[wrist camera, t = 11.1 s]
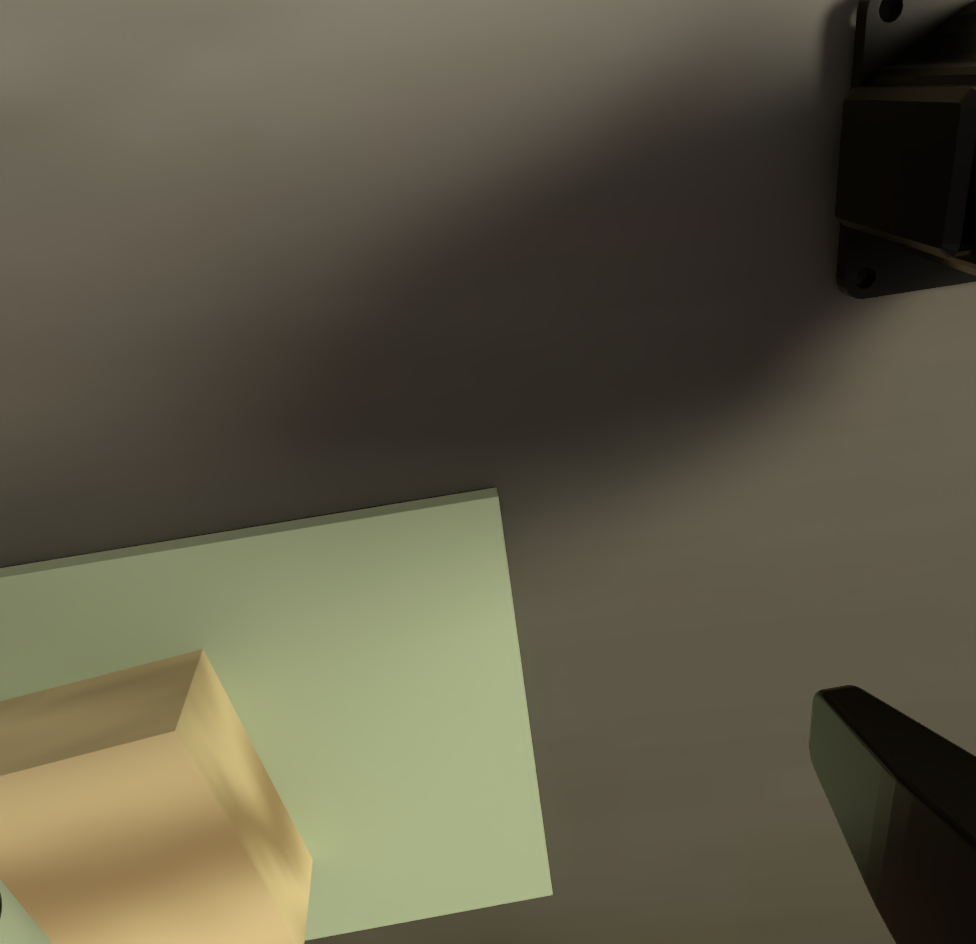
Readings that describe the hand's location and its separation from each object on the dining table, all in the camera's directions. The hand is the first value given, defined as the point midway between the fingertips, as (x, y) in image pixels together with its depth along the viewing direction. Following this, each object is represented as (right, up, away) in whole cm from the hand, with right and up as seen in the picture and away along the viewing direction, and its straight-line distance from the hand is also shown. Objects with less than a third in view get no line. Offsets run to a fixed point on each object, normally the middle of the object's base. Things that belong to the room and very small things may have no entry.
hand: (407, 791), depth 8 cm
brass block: (-9, -6, +15) cm, 18 cm away
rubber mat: (-9, -6, +15) cm, 19 cm away
